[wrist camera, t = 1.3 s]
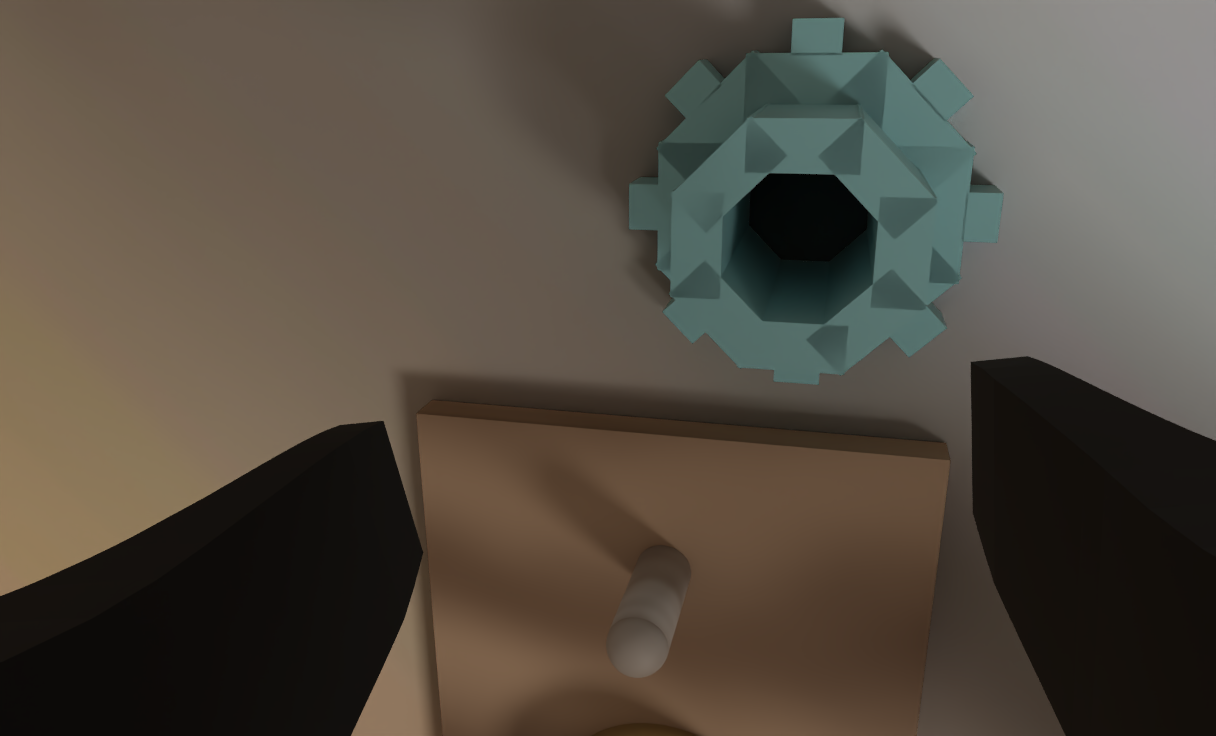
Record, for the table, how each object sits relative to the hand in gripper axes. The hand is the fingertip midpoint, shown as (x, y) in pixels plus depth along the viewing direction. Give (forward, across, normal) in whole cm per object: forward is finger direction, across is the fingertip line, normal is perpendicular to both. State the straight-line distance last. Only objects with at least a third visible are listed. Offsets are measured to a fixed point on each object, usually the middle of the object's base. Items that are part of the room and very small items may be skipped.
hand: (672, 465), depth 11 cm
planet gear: (+11, -2, 0) cm, 11 cm away
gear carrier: (+10, +3, +16) cm, 19 cm away
